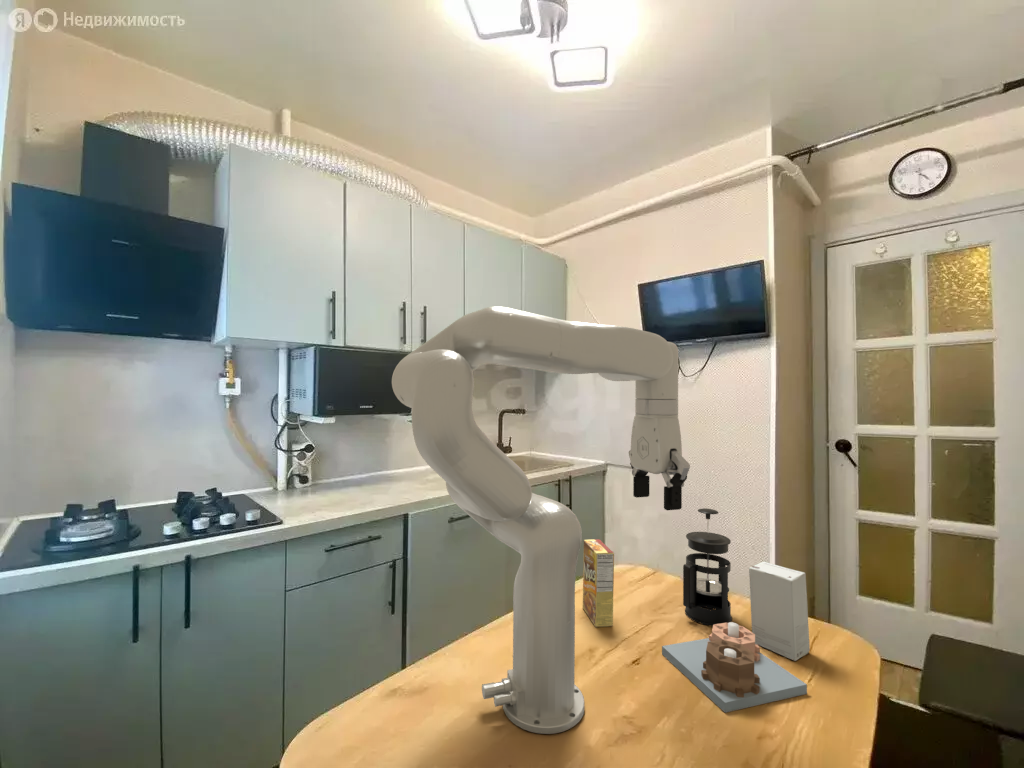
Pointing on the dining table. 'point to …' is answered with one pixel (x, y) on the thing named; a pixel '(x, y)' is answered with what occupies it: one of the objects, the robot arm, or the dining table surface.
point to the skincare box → (779, 609)
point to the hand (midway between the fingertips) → (656, 502)
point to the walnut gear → (730, 668)
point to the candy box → (598, 582)
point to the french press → (702, 589)
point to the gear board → (729, 700)
